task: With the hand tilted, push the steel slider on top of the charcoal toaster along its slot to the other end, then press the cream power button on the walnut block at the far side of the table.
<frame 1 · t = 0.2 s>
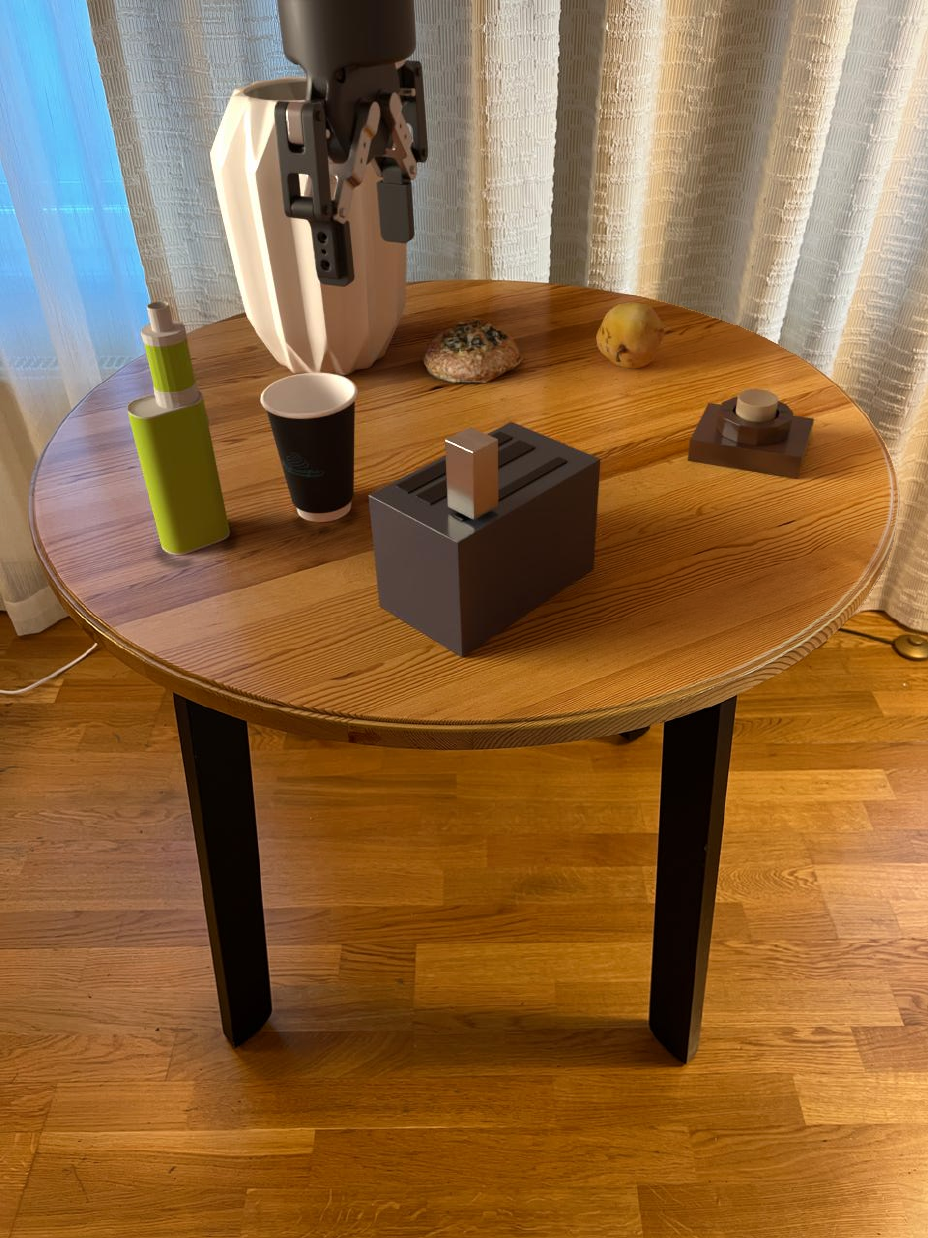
hand: (368, 260, 65), 26 cm above the table, tool pointing down, fingers open, 8 cm apart
toaster slider: (472, 473, 69), point 13 cm above the table, slide at 0.0 cm
power button: (756, 406, 93), point 4 cm above the table, slide at 0.1 cm
vape: (196, 539, 87), on the table
toaster: (488, 587, 80), on the table
fruit: (627, 364, 112), on the table
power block: (749, 449, 96), on the table
vase: (331, 357, 116), on the table
bread roll: (472, 366, 113), on the table
dixie cup: (324, 509, 90), on the table
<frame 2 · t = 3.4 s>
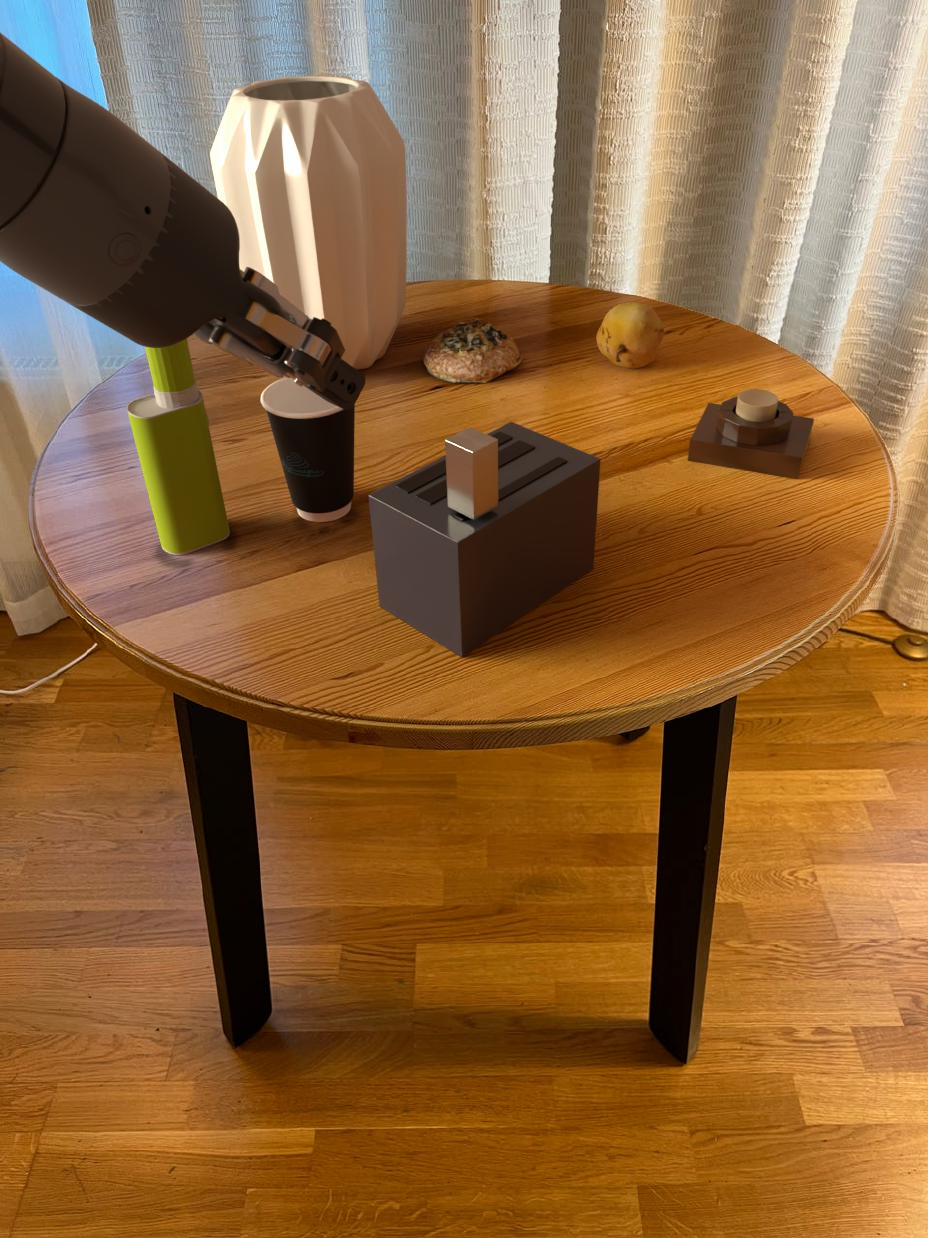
hand: (350, 391, 57), 22 cm above the table, tool tilted 45°, fingers closed
nothing on the table moved.
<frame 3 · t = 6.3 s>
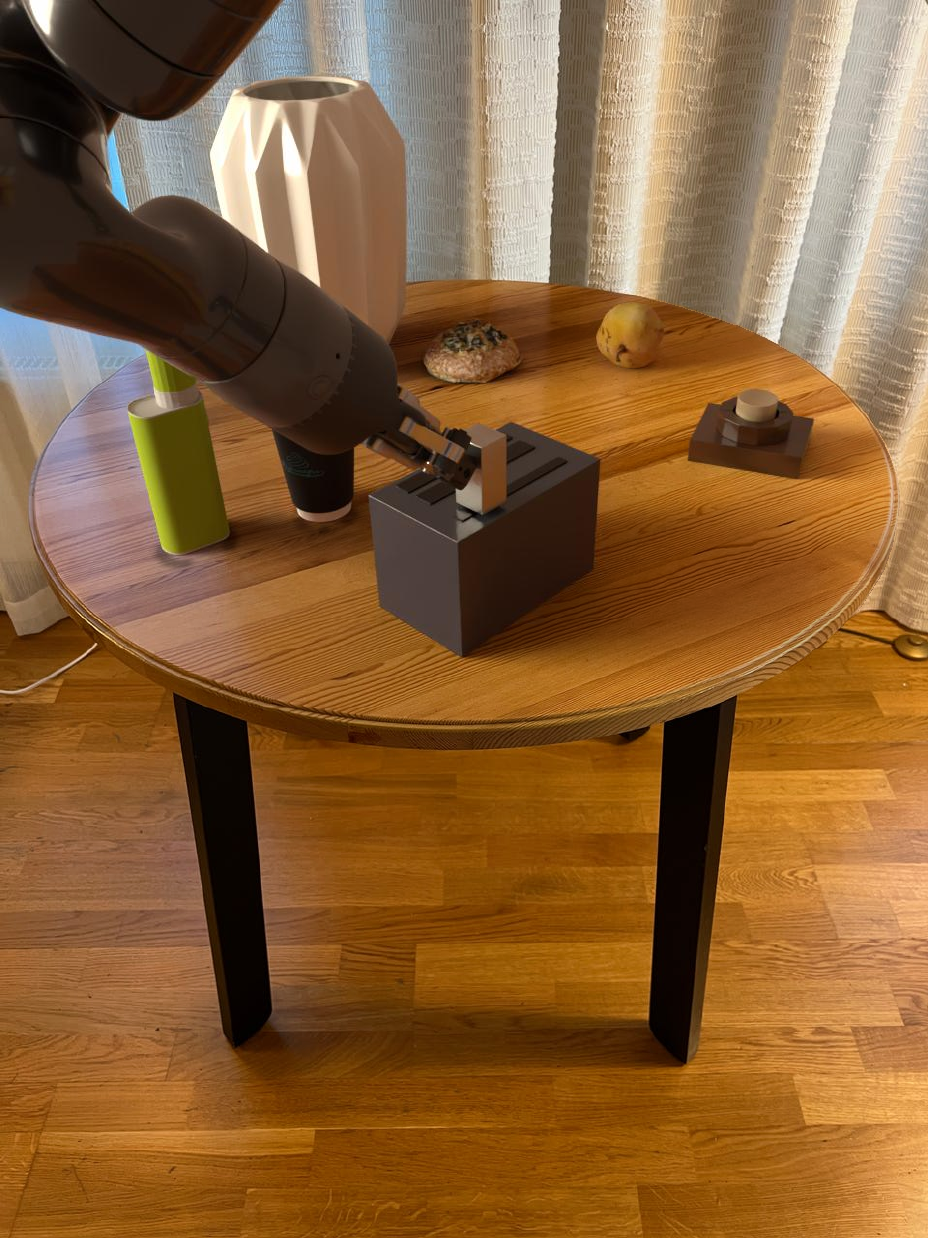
hand: (462, 473, 68), 13 cm above the table, tool tilted 45°, fingers closed
toaster slider: (480, 469, 69), point 13 cm above the table, slide at 0.8 cm, touching gripper
everything else where it was.
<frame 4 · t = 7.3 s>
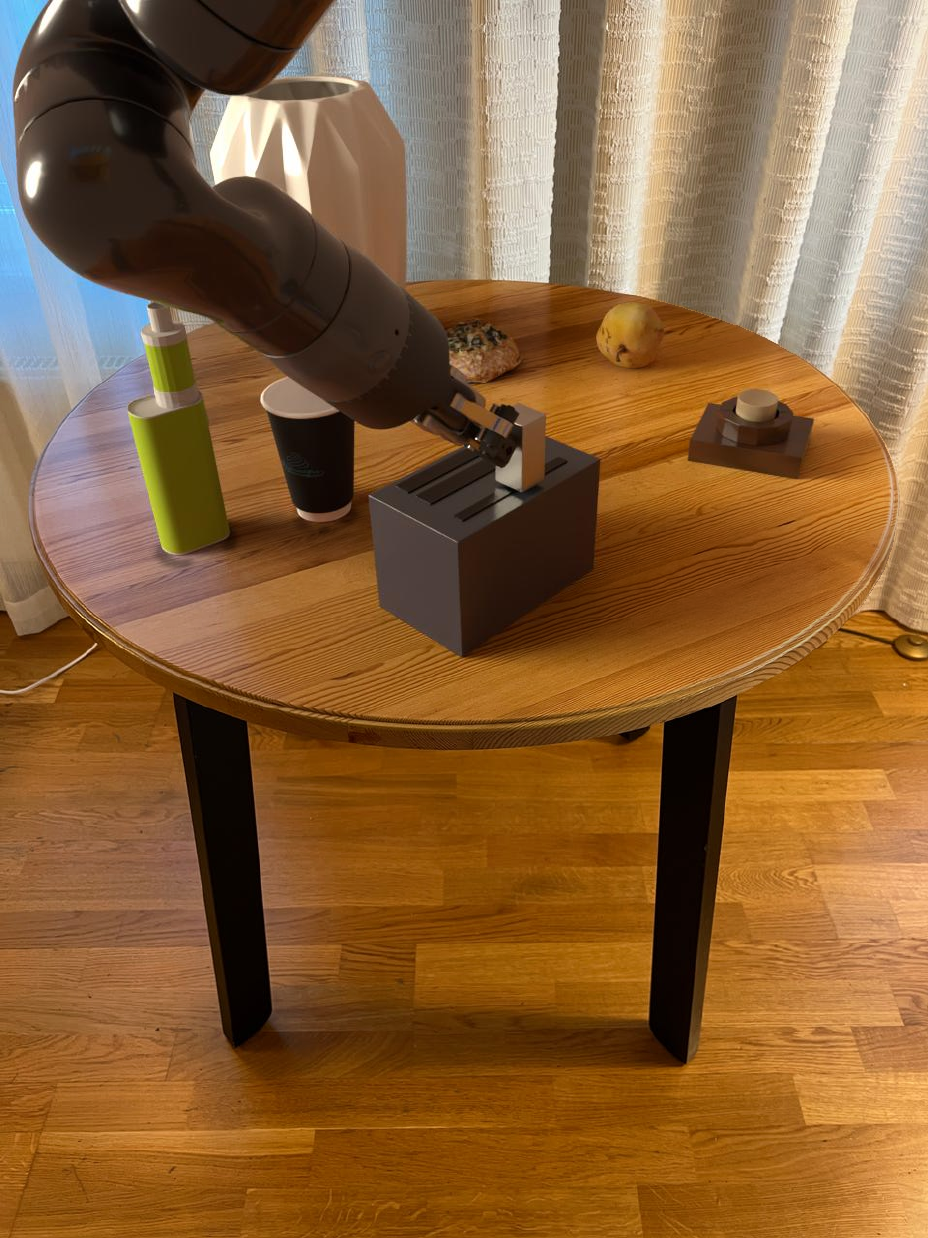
hand: (503, 452, 70), 13 cm above the table, tool tilted 45°, fingers closed
toaster slider: (520, 447, 71), point 13 cm above the table, slide at 4.8 cm, touching gripper
everything else where it was.
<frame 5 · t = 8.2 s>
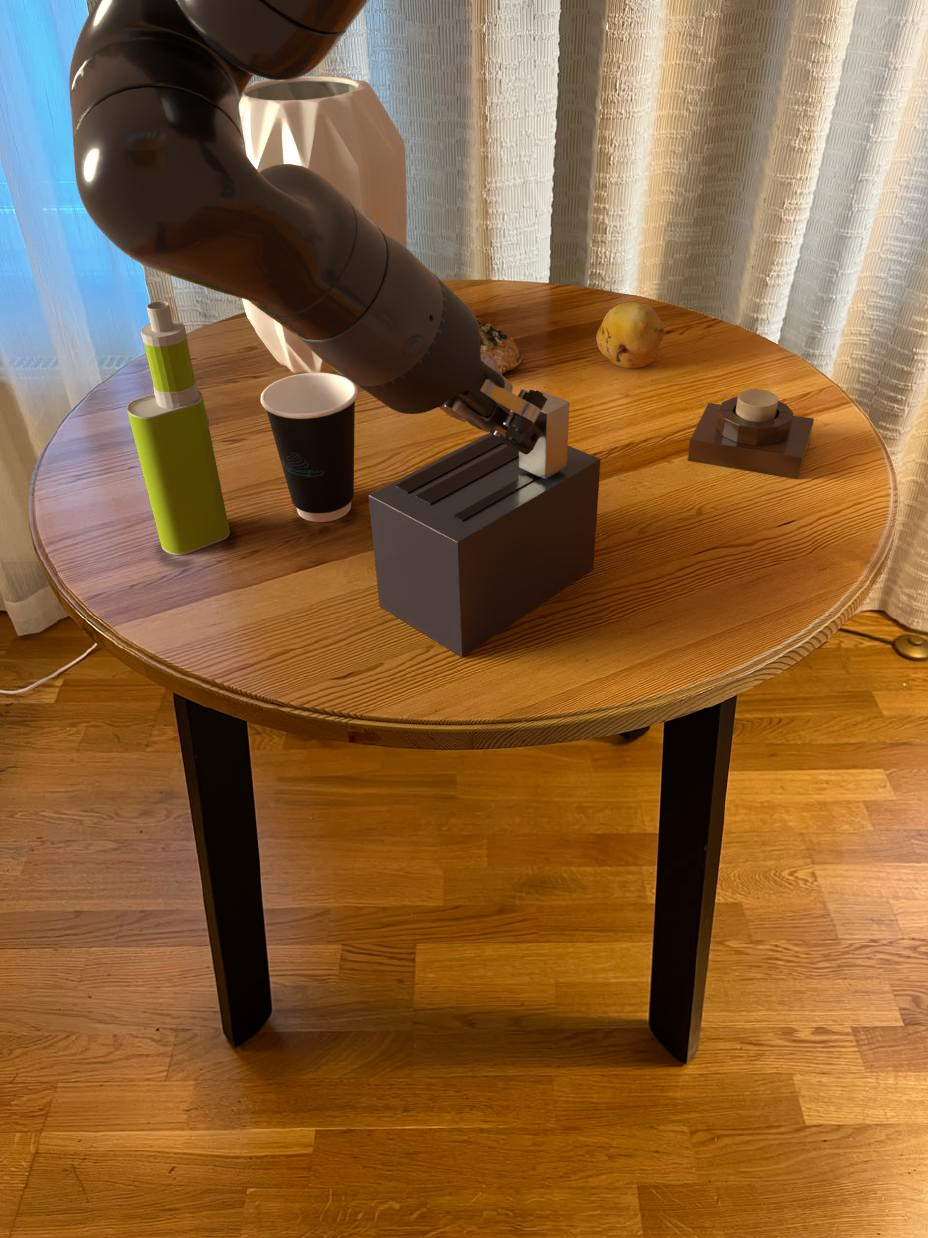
hand: (527, 439, 71), 13 cm above the table, tool tilted 45°, fingers closed
toaster slider: (543, 435, 72), point 13 cm above the table, slide at 7.3 cm, touching gripper
everything else where it was.
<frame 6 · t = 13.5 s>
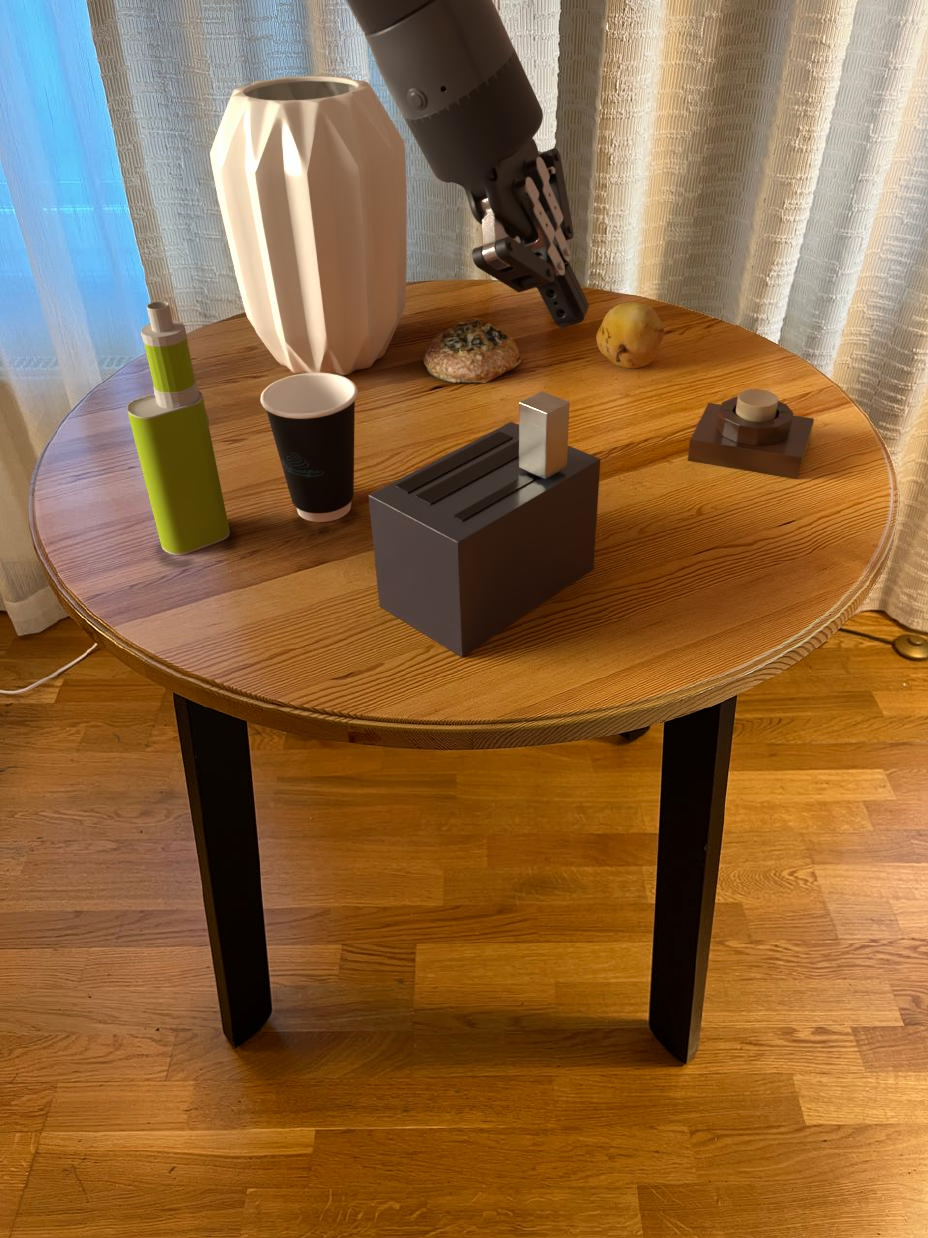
hand: (574, 318, 70), 20 cm above the table, tool tilted 25°, fingers closed
toaster slider: (543, 435, 72), point 13 cm above the table, slide at 7.3 cm
everything else where it was.
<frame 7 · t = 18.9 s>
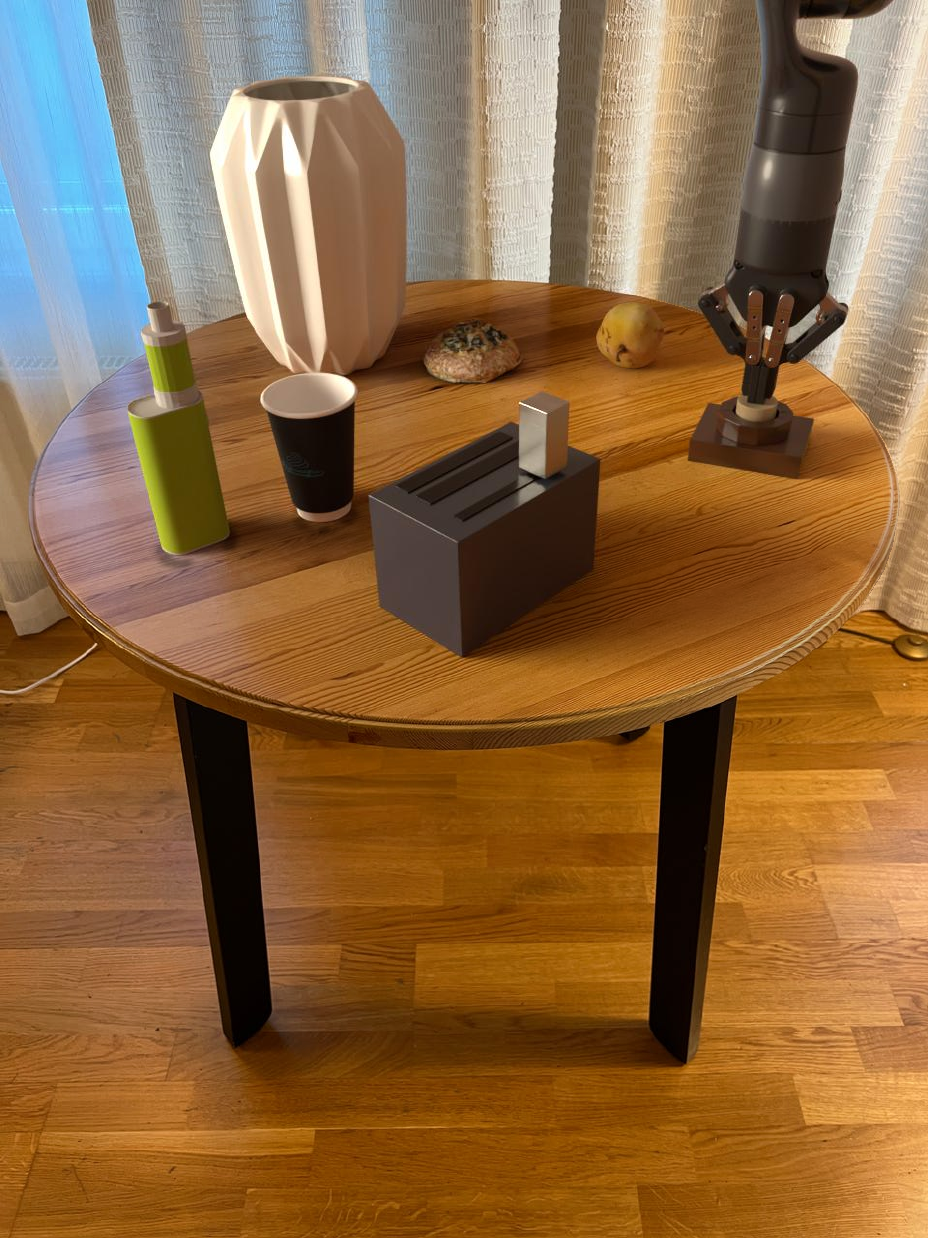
hand: (757, 399, 93), 5 cm above the table, tool pointing down, fingers closed
power button: (756, 408, 94), point 4 cm above the table, slide at -0.2 cm, touching gripper
everything else where it was.
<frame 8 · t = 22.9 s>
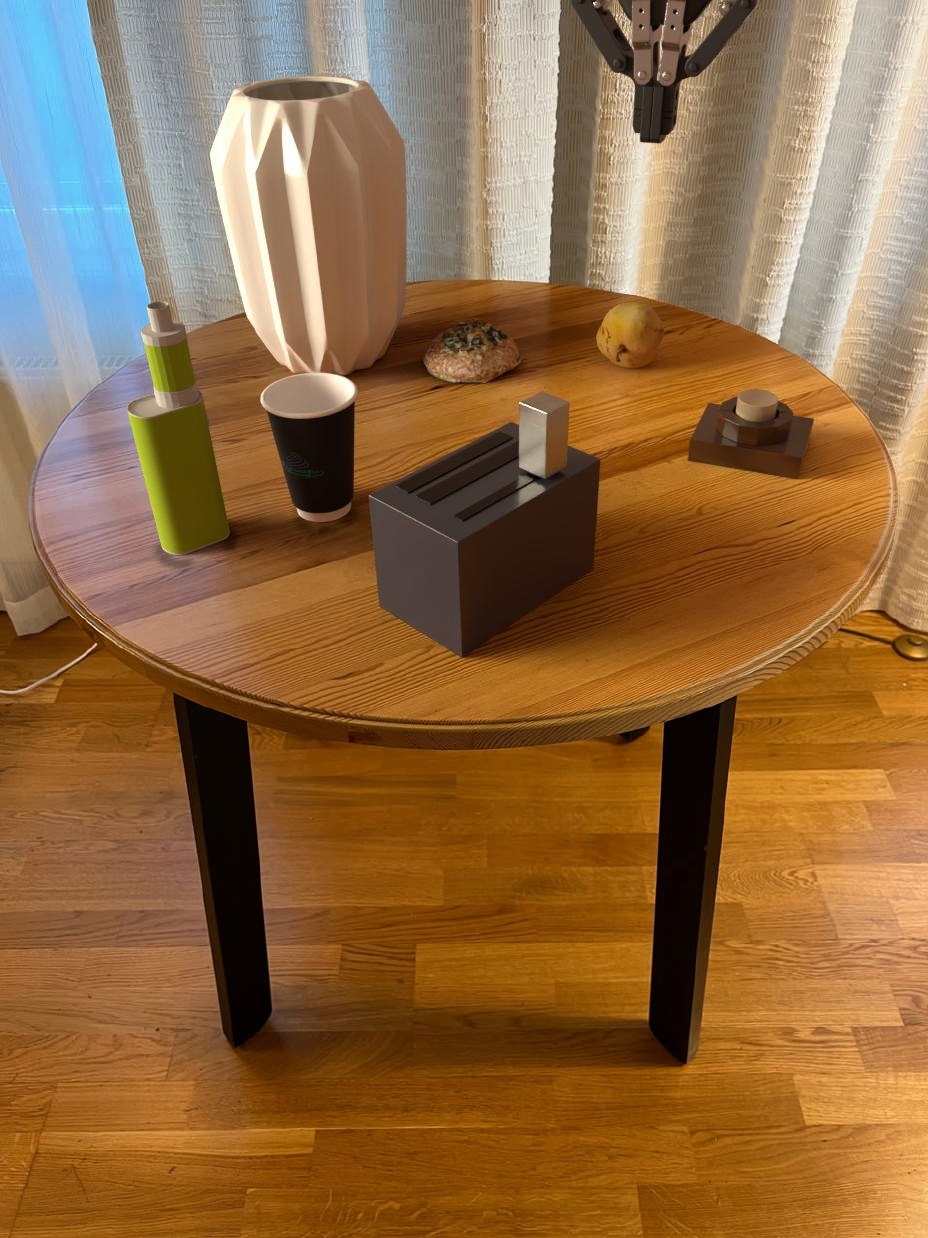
hand: (653, 140, 73), 29 cm above the table, tool pointing down, fingers closed
power button: (756, 406, 93), point 4 cm above the table, slide at 0.1 cm
everything else where it was.
at the end: toaster slider slide at 7.3 cm; power button pushed in 1.0 cm at the most during the clip, back to where it started at the end; power button slide at 0.1 cm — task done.
